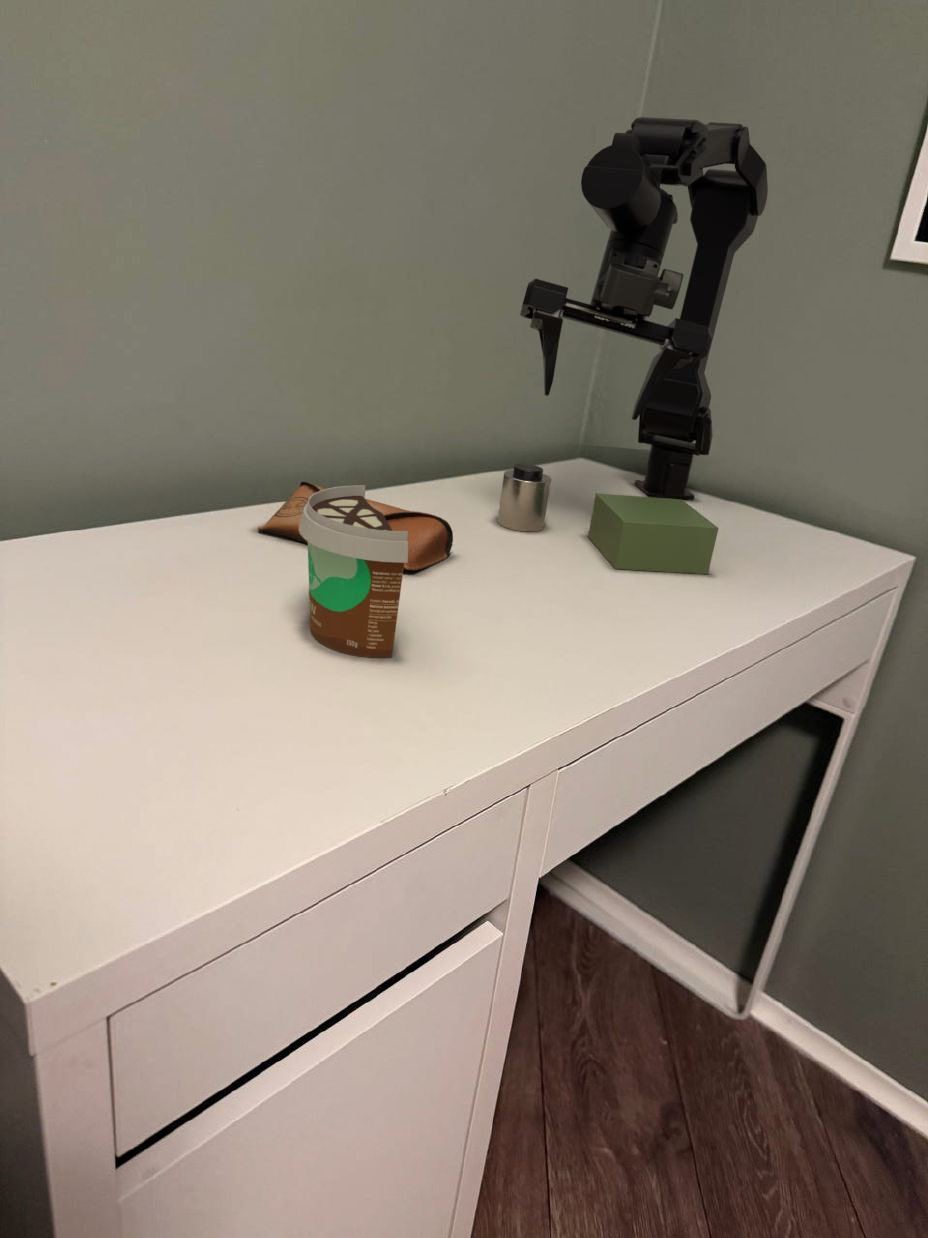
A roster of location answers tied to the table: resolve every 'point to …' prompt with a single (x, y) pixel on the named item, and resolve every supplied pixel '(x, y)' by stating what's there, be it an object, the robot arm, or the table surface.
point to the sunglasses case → (424, 530)
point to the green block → (652, 534)
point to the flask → (524, 498)
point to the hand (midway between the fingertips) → (590, 407)
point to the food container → (352, 572)
